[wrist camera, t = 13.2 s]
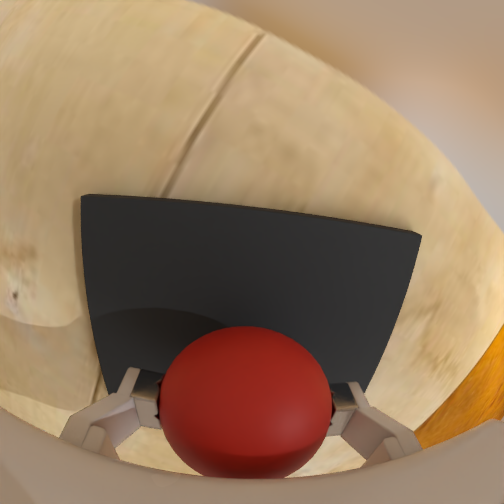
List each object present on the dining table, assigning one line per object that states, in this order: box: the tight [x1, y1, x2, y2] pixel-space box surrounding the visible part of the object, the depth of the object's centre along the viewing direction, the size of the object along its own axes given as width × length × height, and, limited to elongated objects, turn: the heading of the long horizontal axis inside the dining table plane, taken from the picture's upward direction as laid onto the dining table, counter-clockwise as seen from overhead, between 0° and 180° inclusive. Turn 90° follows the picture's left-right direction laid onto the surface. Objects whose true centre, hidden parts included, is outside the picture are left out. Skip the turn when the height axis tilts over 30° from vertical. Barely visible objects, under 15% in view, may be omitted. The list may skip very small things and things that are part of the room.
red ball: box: [159, 326, 332, 479], centre depth 9 cm, size 6×6×6 cm
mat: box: [81, 194, 422, 395], centre depth 13 cm, size 16×13×1 cm
